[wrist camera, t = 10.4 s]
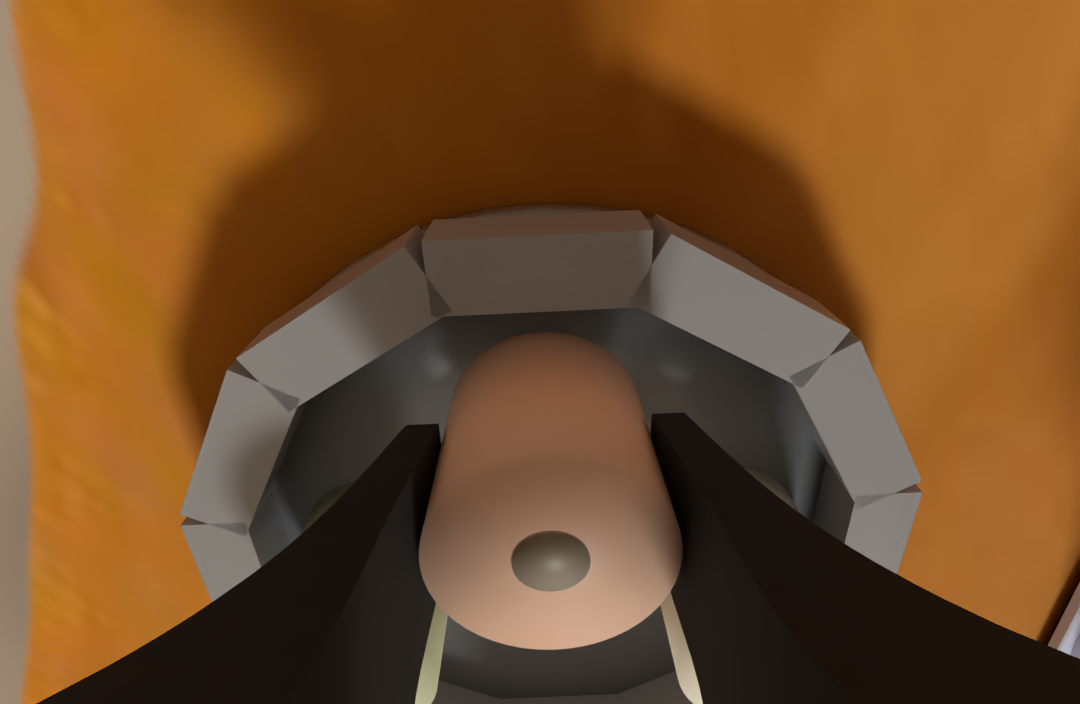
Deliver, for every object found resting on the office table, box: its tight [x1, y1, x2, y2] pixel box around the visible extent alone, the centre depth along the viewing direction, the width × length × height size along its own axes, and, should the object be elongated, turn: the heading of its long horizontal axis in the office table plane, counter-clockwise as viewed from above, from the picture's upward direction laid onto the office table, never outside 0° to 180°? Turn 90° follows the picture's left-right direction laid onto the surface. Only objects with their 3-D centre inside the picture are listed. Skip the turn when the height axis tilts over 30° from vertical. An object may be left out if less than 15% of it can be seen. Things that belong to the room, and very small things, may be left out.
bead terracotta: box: [419, 332, 683, 650], centre depth 11 cm, size 4×4×4 cm
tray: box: [180, 203, 922, 704], centre depth 16 cm, size 17×17×2 cm
